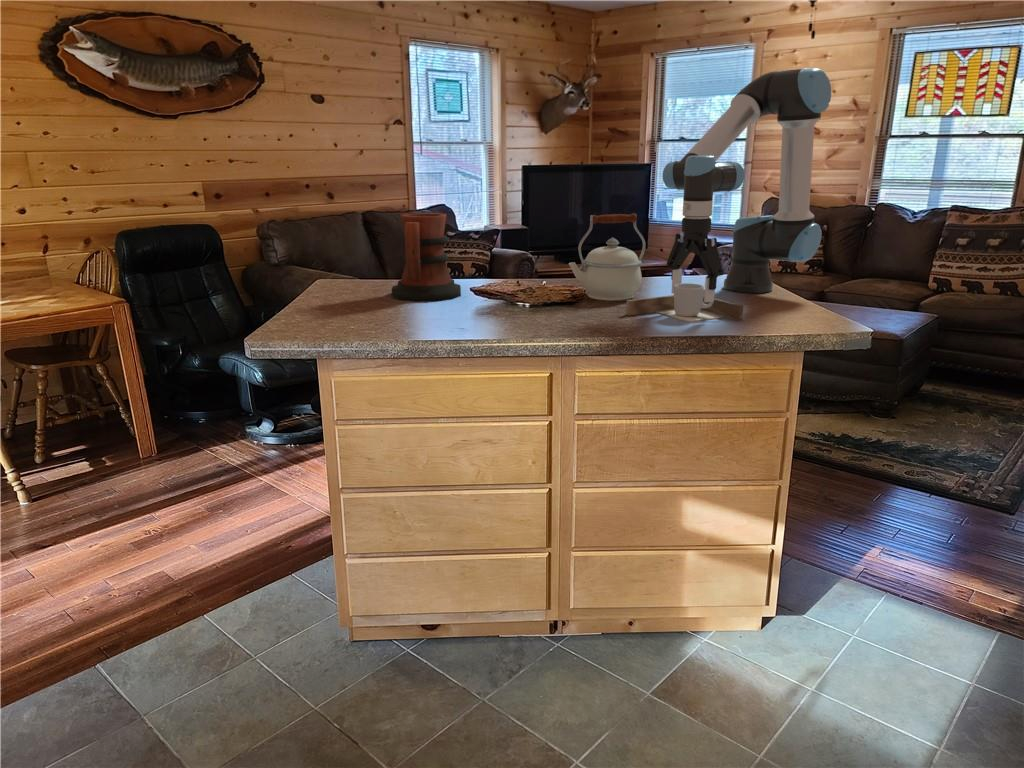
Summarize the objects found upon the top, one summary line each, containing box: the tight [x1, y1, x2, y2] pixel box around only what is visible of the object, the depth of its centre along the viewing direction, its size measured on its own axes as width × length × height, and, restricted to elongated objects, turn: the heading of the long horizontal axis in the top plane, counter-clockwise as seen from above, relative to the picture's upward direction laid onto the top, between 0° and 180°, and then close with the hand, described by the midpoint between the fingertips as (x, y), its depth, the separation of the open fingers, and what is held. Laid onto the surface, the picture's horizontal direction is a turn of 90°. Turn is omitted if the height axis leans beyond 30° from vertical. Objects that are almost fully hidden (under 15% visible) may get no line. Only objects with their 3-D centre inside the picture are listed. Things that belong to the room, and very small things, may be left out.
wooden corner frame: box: [625, 294, 745, 323], centre depth 197 cm, size 23×20×4 cm
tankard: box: [391, 212, 462, 303], centre depth 224 cm, size 22×25×25 cm
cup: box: [673, 282, 714, 317], centre depth 198 cm, size 11×8×8 cm
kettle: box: [568, 212, 647, 302], centre depth 222 cm, size 25×18×25 cm
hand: (692, 297), depth 199 cm, fingers open, 13 cm apart
